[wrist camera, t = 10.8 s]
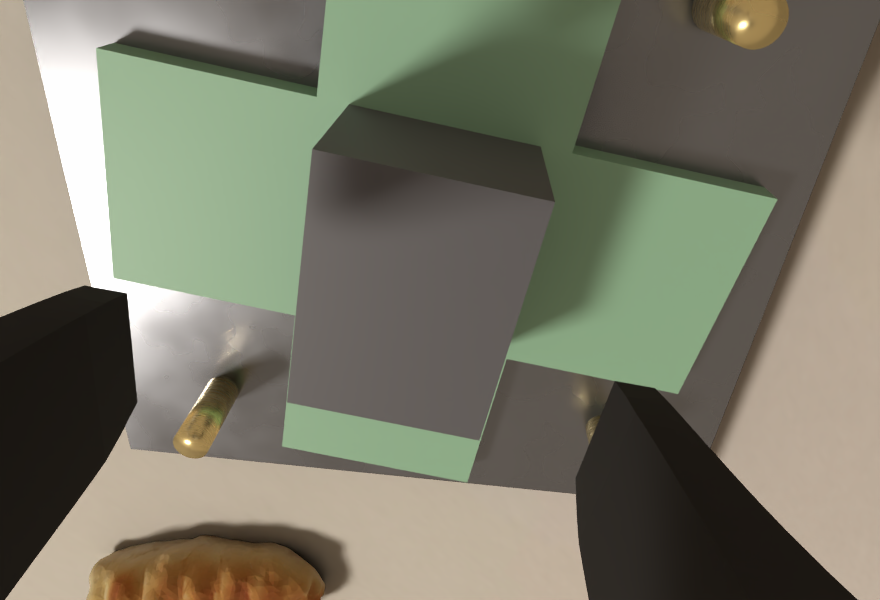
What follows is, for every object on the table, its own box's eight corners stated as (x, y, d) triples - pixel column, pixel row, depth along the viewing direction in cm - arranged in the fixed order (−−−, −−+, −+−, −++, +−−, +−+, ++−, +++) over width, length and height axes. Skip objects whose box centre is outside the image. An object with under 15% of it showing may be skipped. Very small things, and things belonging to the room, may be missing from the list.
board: (136, 399, 20) (56, 503, 16) (97, -227, 12) (-74, -300, 8) (613, 492, 21) (640, 612, 17) (876, -39, 13) (1035, -29, 9)
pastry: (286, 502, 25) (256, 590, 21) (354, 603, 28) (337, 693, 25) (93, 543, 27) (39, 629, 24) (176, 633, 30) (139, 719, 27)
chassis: (151, 419, 23) (90, 506, 19) (17, -214, 14) (-143, -266, 10) (676, 472, 22) (710, 570, 19) (901, -141, 13) (1048, -170, 10)
